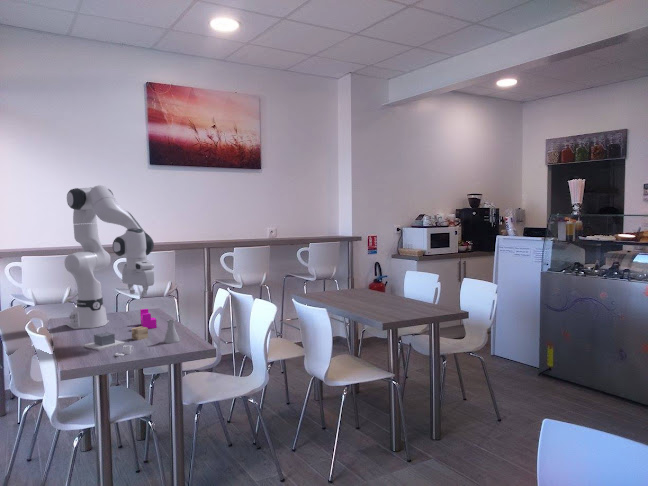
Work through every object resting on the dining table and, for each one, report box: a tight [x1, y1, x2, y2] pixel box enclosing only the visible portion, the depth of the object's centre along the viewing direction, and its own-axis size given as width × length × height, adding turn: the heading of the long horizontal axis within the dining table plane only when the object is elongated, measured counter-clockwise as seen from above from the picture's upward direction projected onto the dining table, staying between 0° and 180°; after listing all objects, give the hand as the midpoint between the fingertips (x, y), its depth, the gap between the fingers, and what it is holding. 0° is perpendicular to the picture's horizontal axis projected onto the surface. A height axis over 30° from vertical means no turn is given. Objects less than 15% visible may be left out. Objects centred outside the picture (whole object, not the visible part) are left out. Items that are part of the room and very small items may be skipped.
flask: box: [163, 319, 181, 344], centre depth 229 cm, size 7×7×10 cm
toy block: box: [139, 308, 158, 330], centre depth 263 cm, size 15×6×8 cm, turn 24°
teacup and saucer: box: [114, 344, 135, 357], centre depth 210 cm, size 9×8×4 cm
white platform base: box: [83, 331, 126, 351], centre depth 225 cm, size 12×12×5 cm
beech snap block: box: [131, 325, 149, 341], centre depth 237 cm, size 5×5×5 cm
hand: (138, 294), depth 235 cm, fingers open, 8 cm apart
